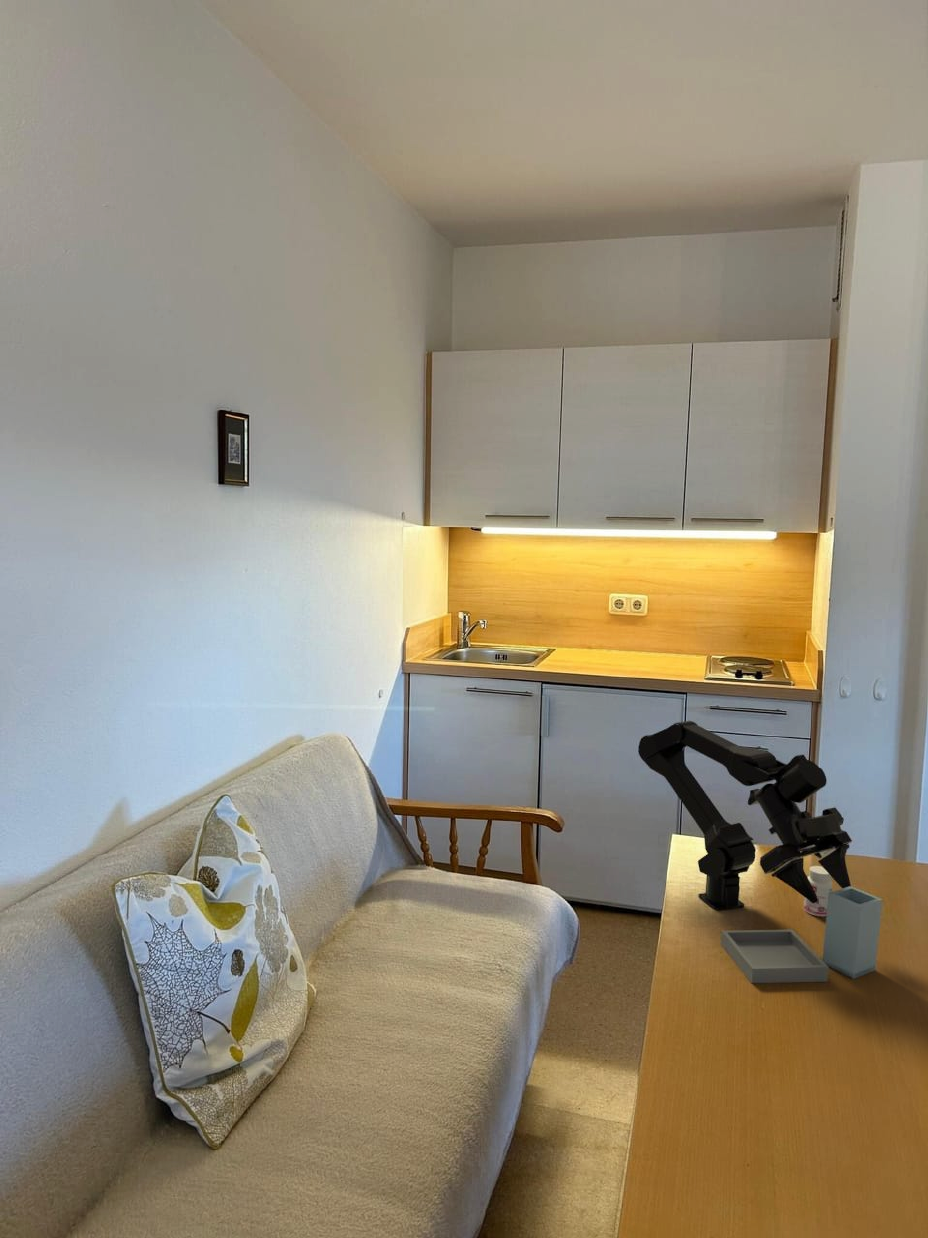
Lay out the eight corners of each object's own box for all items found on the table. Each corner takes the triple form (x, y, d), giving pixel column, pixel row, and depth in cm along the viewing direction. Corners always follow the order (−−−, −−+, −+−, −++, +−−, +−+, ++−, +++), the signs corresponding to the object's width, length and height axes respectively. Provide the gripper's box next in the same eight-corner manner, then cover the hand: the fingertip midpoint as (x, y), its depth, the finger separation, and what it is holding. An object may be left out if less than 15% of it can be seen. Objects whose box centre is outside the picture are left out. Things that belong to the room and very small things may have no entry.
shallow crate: (720, 944, 159) (721, 930, 159) (790, 943, 160) (792, 929, 160) (751, 983, 146) (752, 968, 146) (827, 981, 148) (829, 967, 147)
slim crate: (822, 963, 154) (828, 893, 152) (843, 954, 157) (850, 886, 155) (853, 979, 149) (860, 907, 147) (875, 970, 152) (882, 899, 150)
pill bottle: (801, 913, 172) (805, 871, 171) (805, 904, 177) (808, 863, 176) (828, 919, 170) (832, 877, 169) (831, 910, 174) (835, 868, 173)
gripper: (779, 801, 152) (831, 888, 144) (846, 786, 162) (899, 866, 154) (738, 831, 160) (786, 915, 152) (806, 815, 170) (853, 893, 162)
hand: (833, 896), depth 155 cm, fingers open, 9 cm apart
